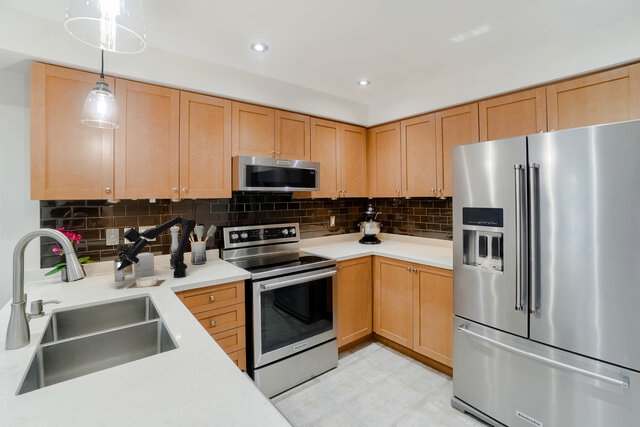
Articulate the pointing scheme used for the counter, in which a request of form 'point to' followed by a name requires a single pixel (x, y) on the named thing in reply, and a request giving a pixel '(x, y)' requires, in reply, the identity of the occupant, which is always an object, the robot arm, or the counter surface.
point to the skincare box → (128, 270)
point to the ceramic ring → (146, 281)
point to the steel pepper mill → (118, 274)
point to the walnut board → (147, 286)
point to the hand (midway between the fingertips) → (116, 269)
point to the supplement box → (144, 265)
